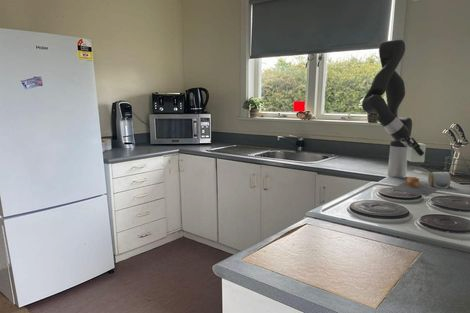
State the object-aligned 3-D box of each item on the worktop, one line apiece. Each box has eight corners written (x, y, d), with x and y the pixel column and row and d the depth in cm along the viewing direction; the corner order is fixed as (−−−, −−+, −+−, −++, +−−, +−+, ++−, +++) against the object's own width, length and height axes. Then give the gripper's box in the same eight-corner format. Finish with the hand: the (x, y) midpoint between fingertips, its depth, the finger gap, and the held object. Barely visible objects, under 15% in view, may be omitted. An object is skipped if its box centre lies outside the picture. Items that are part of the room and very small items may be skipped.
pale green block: (410, 161, 156) (412, 144, 155) (405, 159, 162) (407, 142, 160) (424, 162, 155) (426, 144, 154) (418, 160, 161) (420, 143, 160)
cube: (409, 186, 159) (410, 178, 158) (406, 184, 162) (407, 176, 162) (418, 187, 158) (419, 178, 158) (414, 185, 162) (415, 177, 161)
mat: (405, 183, 167) (405, 182, 167) (440, 189, 156) (440, 188, 156) (389, 189, 154) (389, 188, 154) (426, 197, 142) (426, 195, 142)
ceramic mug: (426, 184, 167) (428, 169, 166) (444, 185, 165) (446, 170, 164) (433, 189, 157) (435, 174, 156) (452, 191, 155) (454, 175, 154)
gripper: (408, 123, 150) (432, 150, 150) (396, 122, 164) (419, 146, 164) (394, 135, 151) (419, 161, 151) (384, 132, 165) (407, 156, 166)
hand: (419, 153), depth 158 cm, fingers closed on pale green block, 6 cm apart
